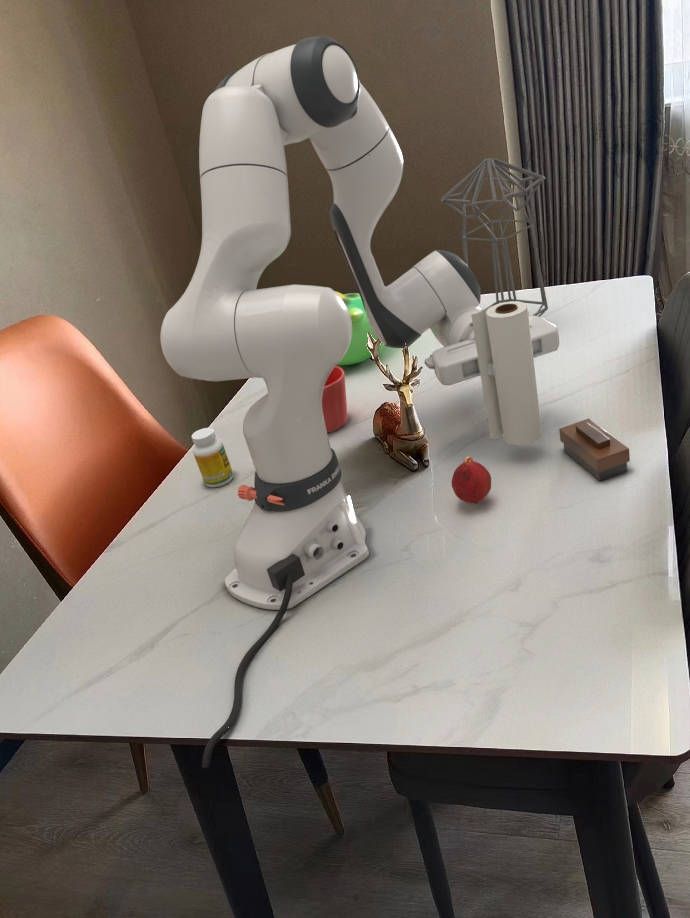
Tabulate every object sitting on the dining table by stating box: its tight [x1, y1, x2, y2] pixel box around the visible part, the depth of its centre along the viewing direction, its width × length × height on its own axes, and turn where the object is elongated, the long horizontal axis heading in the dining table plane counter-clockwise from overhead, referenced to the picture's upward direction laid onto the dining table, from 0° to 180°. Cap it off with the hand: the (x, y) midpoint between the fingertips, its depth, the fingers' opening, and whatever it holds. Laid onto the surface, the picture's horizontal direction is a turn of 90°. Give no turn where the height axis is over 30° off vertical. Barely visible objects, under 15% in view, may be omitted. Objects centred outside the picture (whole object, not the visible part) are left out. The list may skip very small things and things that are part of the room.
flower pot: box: [322, 365, 348, 433], centre depth 160 cm, size 11×11×10 cm
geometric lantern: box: [440, 157, 549, 317], centre depth 170 cm, size 16×16×35 cm
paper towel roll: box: [471, 301, 543, 446], centre depth 130 cm, size 7×6×21 cm
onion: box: [451, 455, 492, 505], centre depth 127 cm, size 6×6×8 cm
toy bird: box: [335, 291, 384, 366], centre depth 182 cm, size 18×17×15 cm
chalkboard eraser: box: [558, 418, 631, 482], centre depth 131 cm, size 12×5×5 cm, turn 18°
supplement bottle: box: [190, 427, 234, 488], centre depth 150 cm, size 5×5×10 cm
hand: (515, 367), depth 129 cm, fingers closed on paper towel roll, 3 cm apart
